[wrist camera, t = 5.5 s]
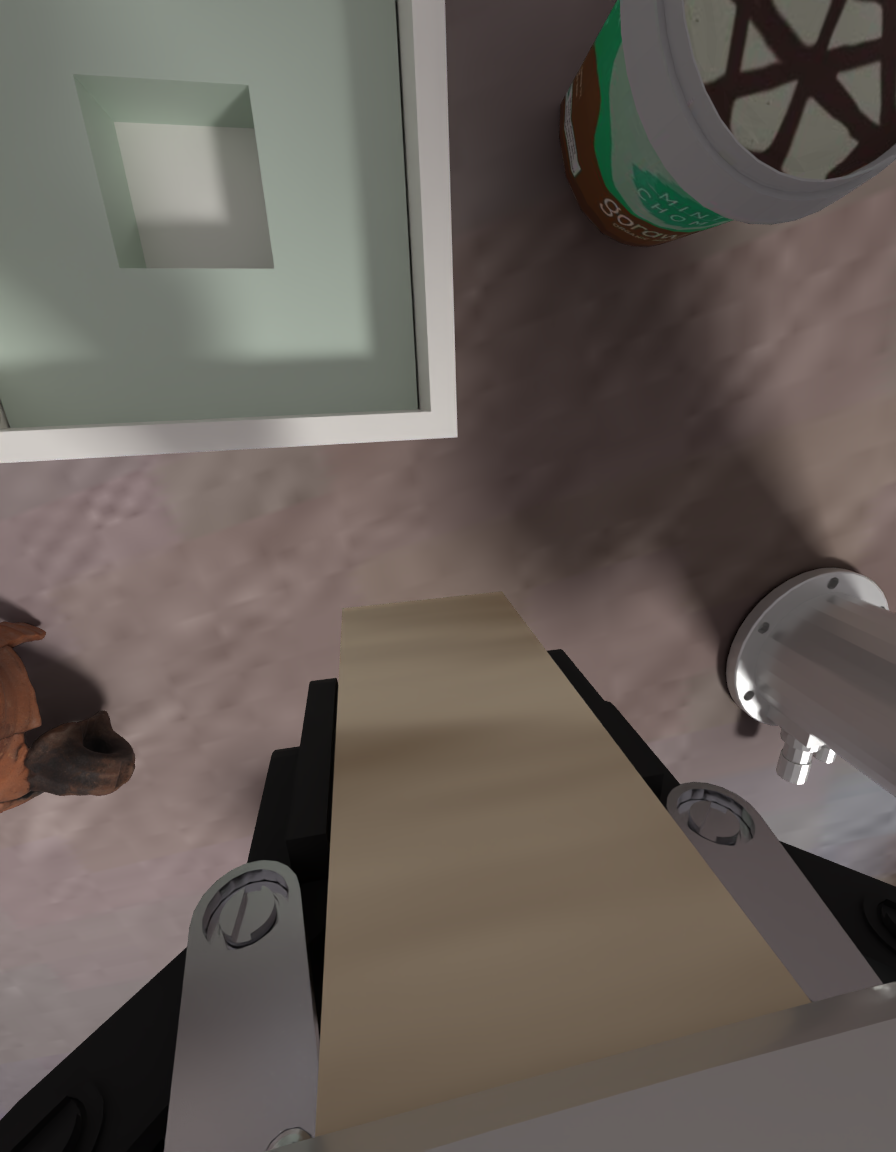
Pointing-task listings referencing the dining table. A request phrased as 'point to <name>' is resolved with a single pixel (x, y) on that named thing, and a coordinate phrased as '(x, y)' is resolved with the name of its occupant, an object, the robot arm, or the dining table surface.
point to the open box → (242, 241)
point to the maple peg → (502, 876)
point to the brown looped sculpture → (51, 739)
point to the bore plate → (197, 295)
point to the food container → (728, 113)
